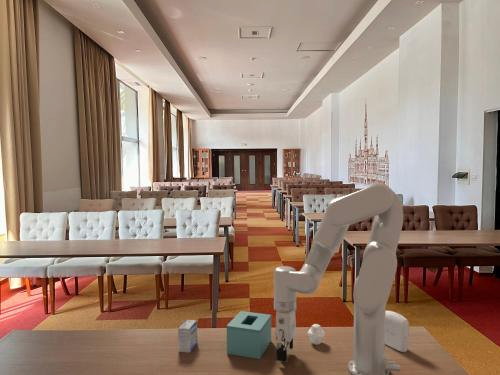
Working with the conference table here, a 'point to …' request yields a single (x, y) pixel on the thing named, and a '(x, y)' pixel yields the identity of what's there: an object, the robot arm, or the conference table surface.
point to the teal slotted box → (249, 334)
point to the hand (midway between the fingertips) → (285, 354)
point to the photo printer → (396, 331)
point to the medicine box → (187, 336)
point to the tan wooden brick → (287, 350)
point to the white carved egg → (316, 334)
